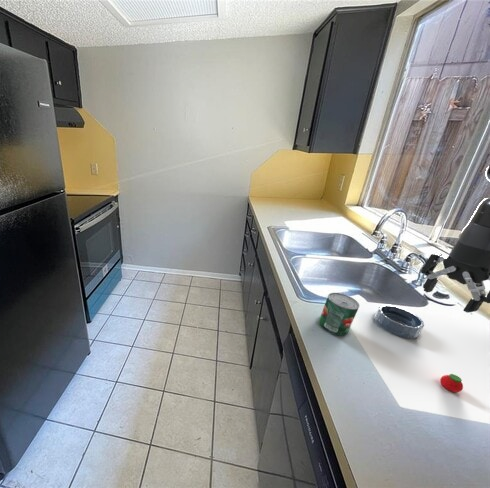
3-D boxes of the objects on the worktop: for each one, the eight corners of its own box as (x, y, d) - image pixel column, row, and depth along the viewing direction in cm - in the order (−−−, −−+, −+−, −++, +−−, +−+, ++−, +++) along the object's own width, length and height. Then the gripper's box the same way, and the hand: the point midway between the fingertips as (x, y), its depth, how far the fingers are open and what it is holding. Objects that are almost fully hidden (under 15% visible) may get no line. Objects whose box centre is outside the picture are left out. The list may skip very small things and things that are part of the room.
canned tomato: (315, 317, 84) (326, 289, 80) (343, 324, 82) (355, 296, 77) (319, 333, 78) (330, 304, 73) (349, 342, 75) (363, 312, 71)
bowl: (414, 327, 82) (422, 314, 80) (418, 347, 74) (426, 333, 72) (373, 312, 88) (379, 300, 86) (372, 329, 80) (378, 316, 78)
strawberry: (455, 389, 62) (464, 376, 60) (458, 400, 60) (468, 387, 58) (435, 380, 64) (443, 368, 62) (437, 391, 62) (446, 378, 60)
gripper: (538, 256, 54) (493, 317, 61) (454, 231, 67) (425, 284, 73) (515, 259, 52) (471, 321, 59) (434, 232, 65) (405, 286, 71)
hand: (446, 300), depth 66 cm, fingers open, 8 cm apart
